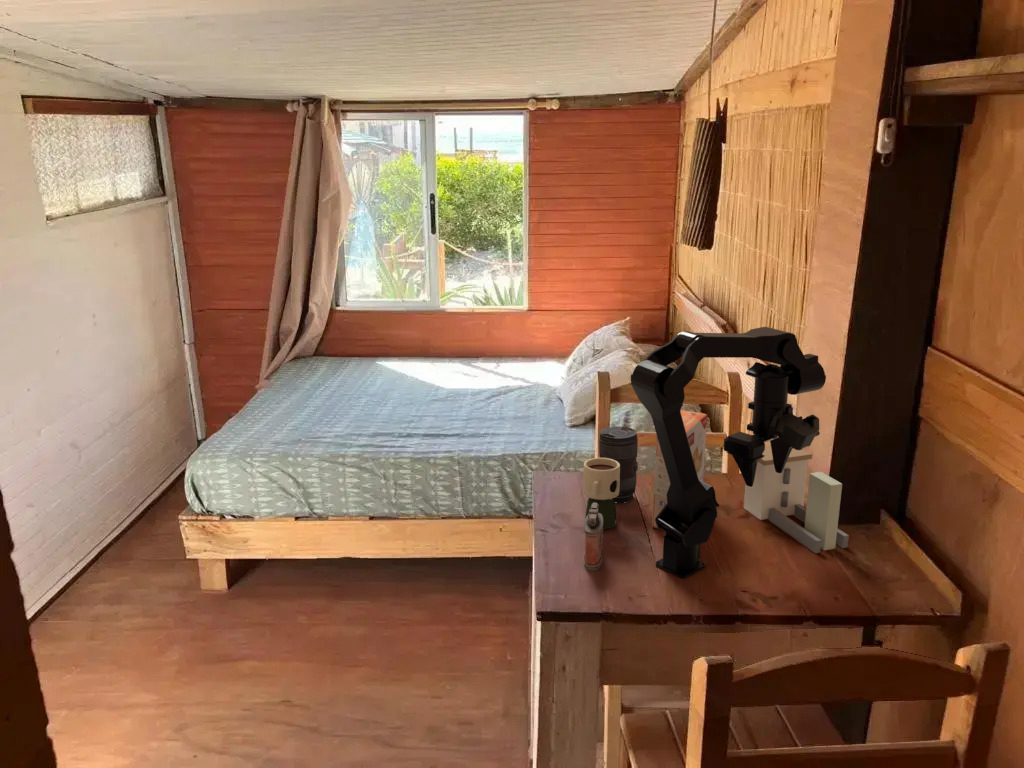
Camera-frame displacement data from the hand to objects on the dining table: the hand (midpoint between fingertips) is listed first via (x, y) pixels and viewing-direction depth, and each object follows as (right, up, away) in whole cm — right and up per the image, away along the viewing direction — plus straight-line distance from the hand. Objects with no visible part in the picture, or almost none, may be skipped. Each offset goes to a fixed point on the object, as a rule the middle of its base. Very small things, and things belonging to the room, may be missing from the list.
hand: (764, 479), depth 143 cm
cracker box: (-13, -10, +15) cm, 22 cm away
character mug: (-29, -11, +12) cm, 33 cm away
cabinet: (+9, -10, +10) cm, 18 cm away
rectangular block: (+12, -12, +4) cm, 17 cm away
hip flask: (-32, -15, -1) cm, 35 cm away
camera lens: (-24, -7, +25) cm, 35 cm away
